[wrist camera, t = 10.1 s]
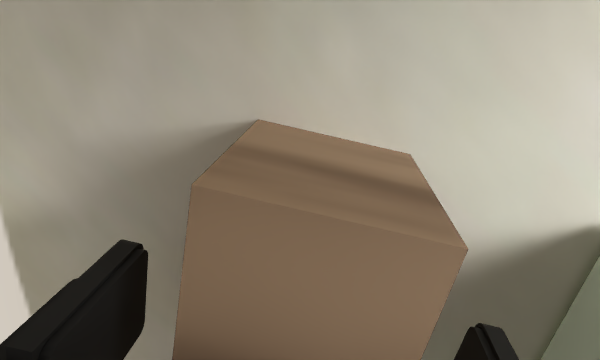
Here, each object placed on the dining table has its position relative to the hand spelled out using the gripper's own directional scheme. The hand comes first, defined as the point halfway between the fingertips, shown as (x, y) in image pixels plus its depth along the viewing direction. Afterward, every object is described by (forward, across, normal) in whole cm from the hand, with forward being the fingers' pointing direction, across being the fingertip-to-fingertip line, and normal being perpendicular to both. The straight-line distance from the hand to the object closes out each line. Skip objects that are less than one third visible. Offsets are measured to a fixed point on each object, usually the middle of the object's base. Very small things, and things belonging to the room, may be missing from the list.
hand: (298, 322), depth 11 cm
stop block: (+3, 0, 0) cm, 3 cm away
